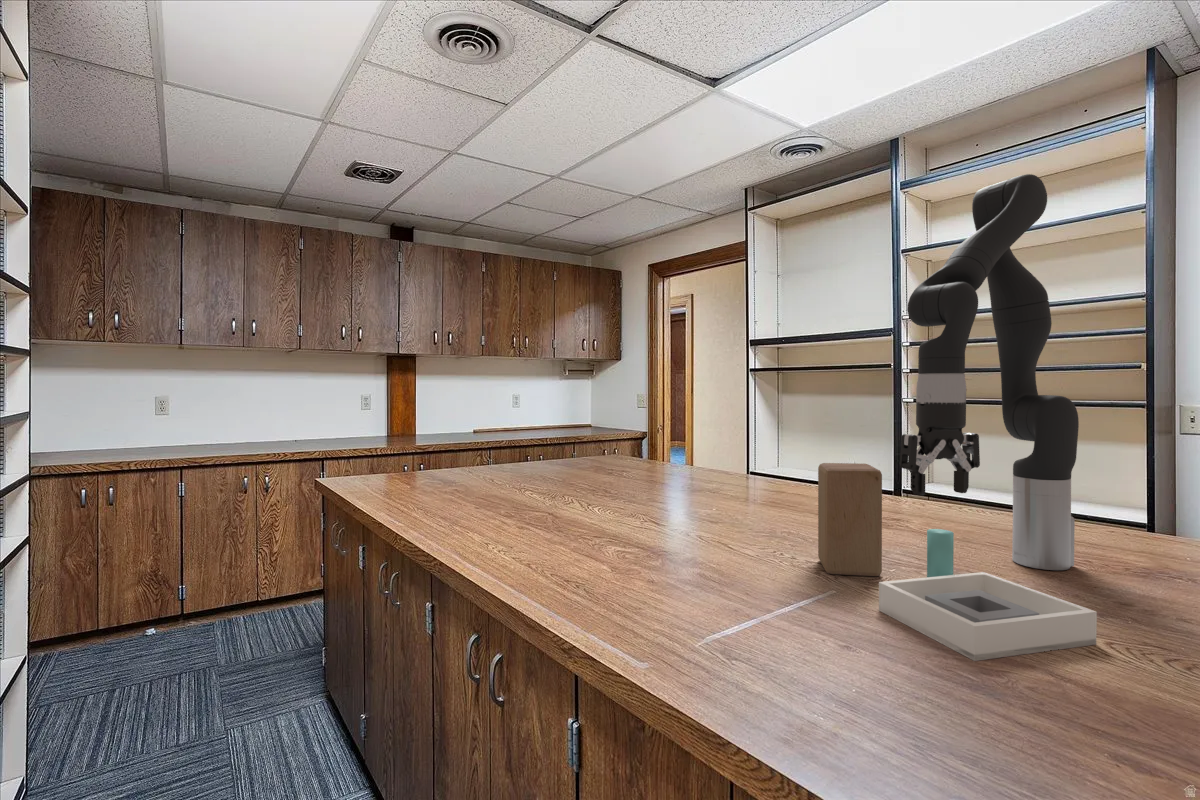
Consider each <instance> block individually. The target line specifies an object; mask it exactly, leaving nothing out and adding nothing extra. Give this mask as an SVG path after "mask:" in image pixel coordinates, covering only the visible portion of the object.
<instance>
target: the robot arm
mask: <svg viewBox="0 0 1200 800" xmlns="http://www.w3.org/2000/svg"><path fill="white" fill-rule="evenodd" d="M971 203H972V204H971V206H972V207H971V209H972V211H971V212H972V219H973V223H974V229H975V232H974V233H972V234H971V235H969V236H968V237H967V238H965V240H964V241H962V242H961V243H960V244H959V245H958V246H957V247H956V248H955V249H954V250H953V252H952V253H951V255H949V257H948V259H947V260H946V261H945V263H944V264H943V266H941V268H939V269H938V270H936V271H935V272H934V273H932V274H931V275H930V276H929V277H928V278H926V279H925V280H924V281H922V282H921V283H920V284H919V285H918V286H917V287H916V288H915V289H914V290H913V291H912V293H911V294H910V296H909V299H908V302H907V306H906V307H907V314H908V318H909V319H910V321H911V322H912V323H914V324H915V325H917V326H919V327H936V326H937V327H938V326H944V328H943V330H942V332H941V333H940V335H939V336H937V337H934V338H931V339H928V340H925V341H923V342H921V343H920V345H919V347H918V357H917V359H918V365H917V367H918V369H917V371H918V373H917V381H916V388H915V389H916V390H915V394H916V396H915V397H916V398H915V399H916V400H915V401H916V402H915V405H916V406H915V425H916V427H918V432H917V435H915V434H910V433H903V434H902V435H901V438H900V439H901V440H900V453H899V467H900V469H904V470H906V471H909V473H910V490H911V492H912V493H913V494H914V495H916V496H925V495H926V473H925V471H926V470H927V469H928V467H929V465H930V464H931V465H932V464H933V462H935V460H942V459H946V460H947V461H949V462H950V463H951V465H952V466H953V468H954V469H955V470H953V491H954V492H955V493H959V494H967V492H968V490H969V486H970V485H969V483H970V482H969V481H970V479H969V478H970V477H969V476H970V475H969V473H970V472H971V470H972V469H974V468H976V469H977V468H979V467H980V465H981V461H980V460H981V458H980V436H979V434H978V433H974V432H963V429H964V428H965V427H966V425H967V383H966V374H965V373H966V349H967V345H968V341H969V338H970V335H971V331H972V328H973V324H974V321H975V319H976V317H977V313H978V309H979V296H978V292H977V291H978V290H979V289H980V288H981V286H982V285H983V283H984V282H985V280H986V279H987V285H988V292H989V298H990V299H989V300H990V307H991V308H990V309H991V313H992V314H991V315H992V321H993V322H992V323H993V328H994V334H995V338H996V342H997V343H996V344H997V353H998V360H999V369H1000V379H1001V380H1000V381H1001V385H1000V386H1001V387H1000V389H1001V410H1002V411H1001V412H1002V419H1003V423H1004V426H1005V429H1006V431H1007V432H1008V433H1009V435H1010V436H1011V437H1013V438H1014V439H1017V440H1019V441H1028V442H1034V443H1033V448H1032V452H1031V454H1029V455H1028V456H1027V457H1023V458H1020V459H1017V460H1016V459H1015V461H1013V465H1012V541H1011V542H1012V548H1011V549H1012V551H1011V552H1012V553H1011V554H1012V556H1011V558H1012V561H1013V562H1014V563H1016V564H1018V565H1021V566H1023V567H1028V568H1033V569H1039V570H1046V571H1047V570H1048V571H1049V570H1050V571H1066V570H1070V569H1071V567H1075V528H1076V527H1075V524H1076V522H1075V517H1073V516H1072V473H1073V472H1072V471H1073V469H1074V466H1075V464H1076V461H1077V452H1078V441H1079V440H1078V439H1079V437H1078V436H1079V425H1080V424H1079V413H1078V410H1077V407H1076V405H1075V403H1074V402H1073V401H1072V399H1070V398H1068V397H1066V396H1064V395H1053V394H1052V395H1051V394H1049V395H1047V394H1045V395H1044V394H1039V392H1038V387H1037V379H1036V378H1037V376H1036V372H1037V371H1036V369H1037V364H1038V361H1039V359H1040V356H1041V354H1042V352H1043V350H1044V348H1045V346H1046V343H1047V341H1048V338H1049V336H1050V333H1051V330H1052V314H1051V307H1050V301H1049V296H1048V292H1047V290H1046V288H1045V286H1044V285H1043V284H1042V283H1041V282H1040V281H1039V280H1038V279H1037V277H1036V276H1034V275H1033V273H1031V272H1030V271H1029V270H1028V269H1027V268H1026V267H1025V266H1024V265H1023V264H1022V263H1021V262H1020V261H1019V260H1018V259H1017V257H1016V256H1015V255H1014V253H1013V251H1012V249H1011V247H1012V246H1013V245H1014V244H1015V243H1016V241H1018V240H1019V239H1020V238H1021V237H1022V236H1023V235H1024V234H1025V233H1026V232H1027V231H1028V230H1029V229H1030V228H1031V227H1032V226H1033V225H1034V224H1035V223H1036V222H1037V221H1038V220H1040V218H1041V217H1042V216H1043V215H1044V212H1045V211H1046V208H1047V204H1048V192H1047V188H1046V185H1045V184H1044V182H1043V181H1042V179H1041V178H1040V177H1039V176H1038V175H1035V174H1032V173H1031V174H1030V173H1027V174H1021V175H1017V176H1013V177H1011V178H1008V179H1005V180H1003V181H1000V182H997V183H993V184H991V185H987V186H984V187H982V188H981V189H978V190H977V191H976V192H975V193H974V196H973V198H972V202H971Z"/></svg>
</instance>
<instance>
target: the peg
mask: <svg viewBox="0 0 1200 800" xmlns="http://www.w3.org/2000/svg"><path fill="white" fill-rule="evenodd" d="M954 535H955V534H954V532H953V531H951V530H947V529H940V528H931V529H927V531H926V540H927V541H926V578H927V577H937V576H948V575H954V547H955V545H954V540H955V539H954Z"/></svg>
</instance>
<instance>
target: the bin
mask: <svg viewBox="0 0 1200 800" xmlns="http://www.w3.org/2000/svg"><path fill="white" fill-rule="evenodd" d="M878 611H879V612H881V613H883V614H885V615H887V616H889V617H891V618H893V619H894V620H895V621H898V622H900V623H902V624H904V625H905V626H907V627H909V628H911V629H913V630H915V631H916V632H918V633H921V634H922V635H924V636H926V637H928V638H930V639H932V640H934V641H935V642H938V643H939V644H941V645H944V646H945V647H947V648H949V649H950V650H952V651H954V652H957V653H958V654H960V655H962V656H963V657H966V658H968V659H970V660H971V661H973V662H977V661H978V662H979V661H984V660H985V661H986V660H991V659H999V658H1006V657H1007V658H1008V657H1014V656H1022V655H1028V654H1037V653H1043V652H1044V651H1045V652H1051V651H1050V650H1052V651H1059V650H1065V649H1072V648H1080V647H1088V646H1095V645H1097V621H1098V620H1097V614H1098V613H1097V612H1098V611H1096V610H1093V609H1090V608H1087V607H1085V606H1082V605H1078V604H1076V603H1072V602H1070V601H1067V600H1065V599H1061V598H1059V597H1055V596H1054V595H1051V594H1047V593H1044V592H1042V591H1038V590H1036V589H1033V588H1030V587H1027V586H1024V585H1021V584H1019V583H1017V582H1014V581H1010V580H1008V579H1005V578H1001V577H999V576H997V575H996V576H995V575H993V574H991V573H987V572H984V571H981V572H971V573H970V572H969V573H962V574H961V573H959V574H953V575H948V576H937V577H927V576H926V577H918V578H917V577H916V578H907V579H896V580H887V581H879V582H878ZM1058 649H1059V650H1058Z"/></svg>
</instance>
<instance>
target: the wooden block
mask: <svg viewBox="0 0 1200 800" xmlns="http://www.w3.org/2000/svg"><path fill="white" fill-rule="evenodd" d="M817 470H818V471H817V472H818V473H817V483H818V484H817V485H818V486H817V488H818V489H817V490H818V491H817V494H818V495H817V499H818V500H817V501H818V502H817V504H818V508H817V512H818V513H817V516H818V517H817V518H818V519H817V521H818V522H817V525H818V527H817V531H818V534H817V535H818V536H817V540H818V541H817V544H818V545H817V549H818V552H817V557H818V560H819V561H820V563H821V565H822V567H823V569H824V570H825V572H826V573H827V574H830V575H838V576H839V575H841V576H843V575H844V576H861V577H863V576H864V577H878V576H881V574H882V571H883V561H882V560H883V559H882V558H883V504H882V503H883V474H882V471H881V470H880V469H878V468H876V467H874V466H872V465H870V464H869V463H857V462H856V463H851V462H850V463H849V462H848V463H847V462H846V463H845V462H844V463H843V462H841V463H840V462H839V463H838V462H823V463H819V465H818V468H817Z"/></svg>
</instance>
